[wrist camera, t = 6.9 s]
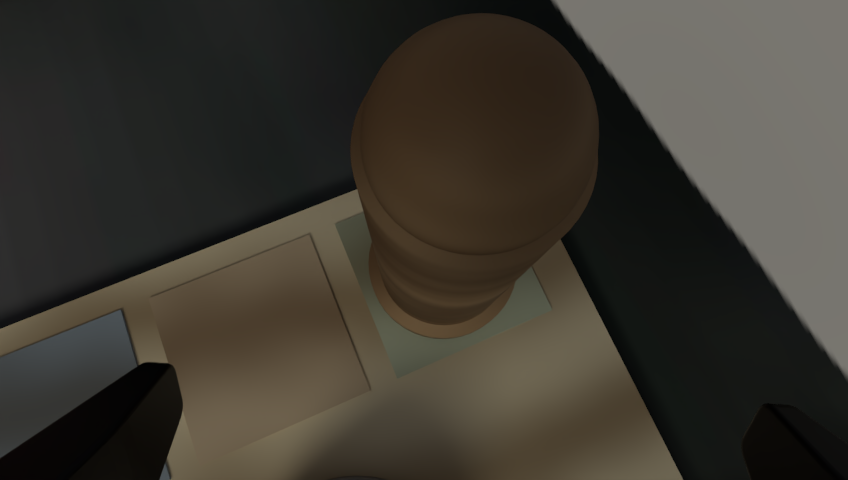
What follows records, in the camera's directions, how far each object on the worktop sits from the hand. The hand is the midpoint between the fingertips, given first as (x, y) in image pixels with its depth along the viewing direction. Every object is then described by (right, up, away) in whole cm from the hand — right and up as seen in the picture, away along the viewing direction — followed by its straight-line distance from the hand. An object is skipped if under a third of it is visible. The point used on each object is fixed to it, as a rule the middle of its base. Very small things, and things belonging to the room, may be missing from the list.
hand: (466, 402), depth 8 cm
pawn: (0, +2, +11) cm, 11 cm away
